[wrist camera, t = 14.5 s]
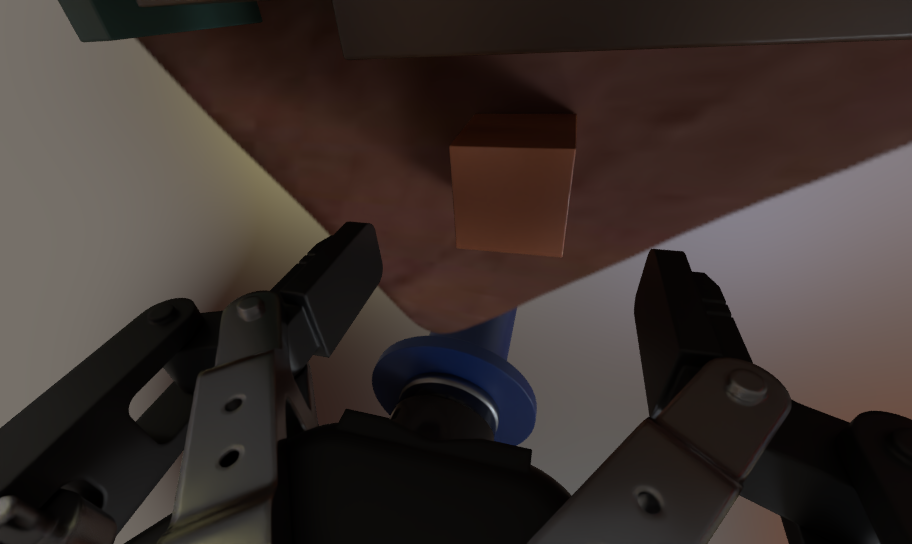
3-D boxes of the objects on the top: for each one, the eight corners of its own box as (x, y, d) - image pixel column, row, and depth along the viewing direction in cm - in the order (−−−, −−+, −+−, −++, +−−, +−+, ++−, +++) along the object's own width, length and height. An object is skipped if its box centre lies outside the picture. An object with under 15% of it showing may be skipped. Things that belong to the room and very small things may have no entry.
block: (565, 207, 19) (562, 258, 15) (477, 202, 20) (456, 248, 16) (577, 113, 16) (576, 148, 13) (474, 113, 17) (448, 145, 14)
